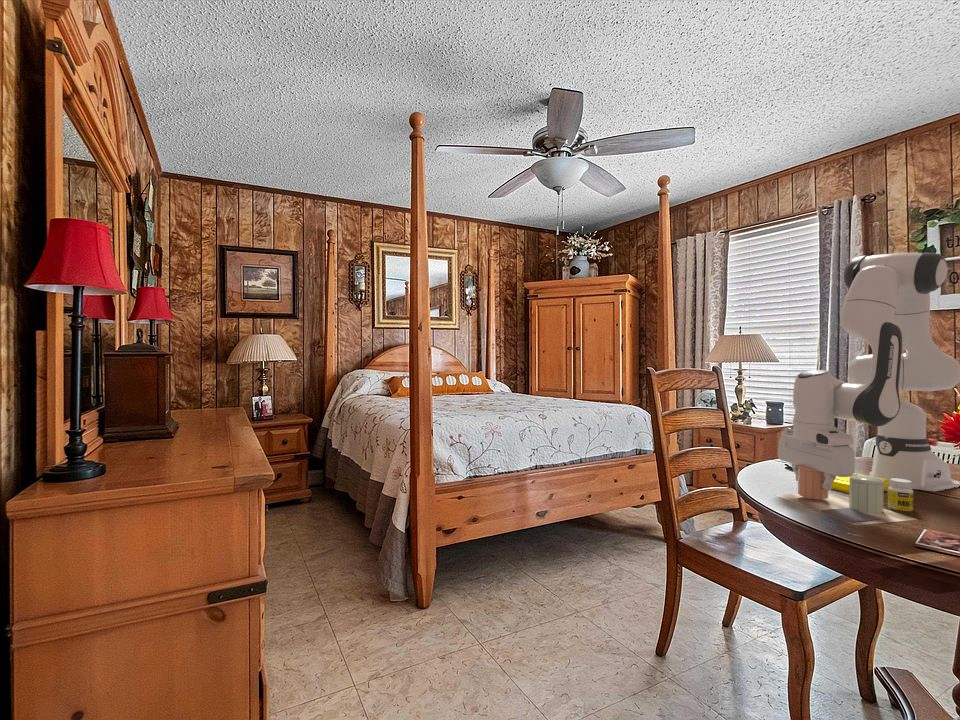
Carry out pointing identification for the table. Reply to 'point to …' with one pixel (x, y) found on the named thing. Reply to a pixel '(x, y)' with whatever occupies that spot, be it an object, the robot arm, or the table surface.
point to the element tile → (843, 483)
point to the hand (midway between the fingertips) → (813, 485)
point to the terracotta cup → (811, 483)
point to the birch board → (843, 502)
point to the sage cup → (866, 494)
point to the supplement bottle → (900, 495)
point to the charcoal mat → (850, 515)
